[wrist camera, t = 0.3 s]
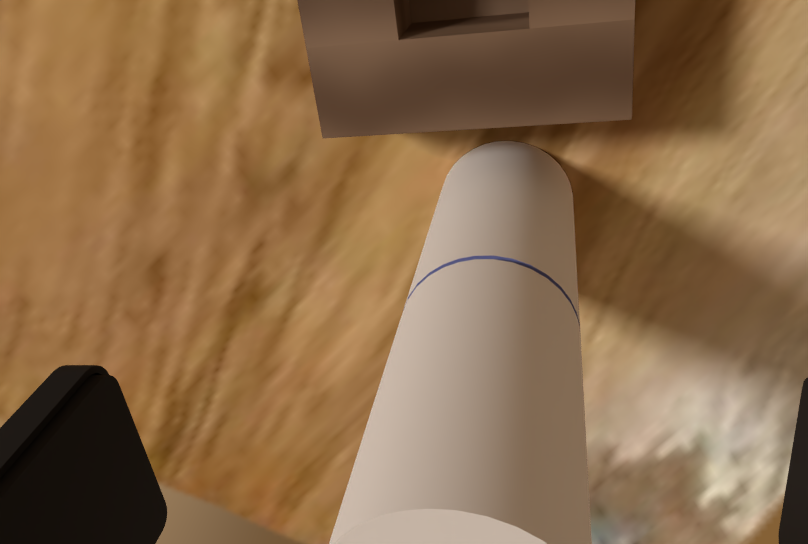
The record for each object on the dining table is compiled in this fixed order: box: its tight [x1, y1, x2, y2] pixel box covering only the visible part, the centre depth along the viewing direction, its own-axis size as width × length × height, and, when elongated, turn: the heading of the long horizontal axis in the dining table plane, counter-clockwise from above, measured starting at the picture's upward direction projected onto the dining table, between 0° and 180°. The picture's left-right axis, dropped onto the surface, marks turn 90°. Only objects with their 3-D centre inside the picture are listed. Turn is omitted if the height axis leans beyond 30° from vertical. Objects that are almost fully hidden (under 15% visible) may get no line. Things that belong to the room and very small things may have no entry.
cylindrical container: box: [329, 141, 592, 544], centre depth 30 cm, size 7×7×25 cm
